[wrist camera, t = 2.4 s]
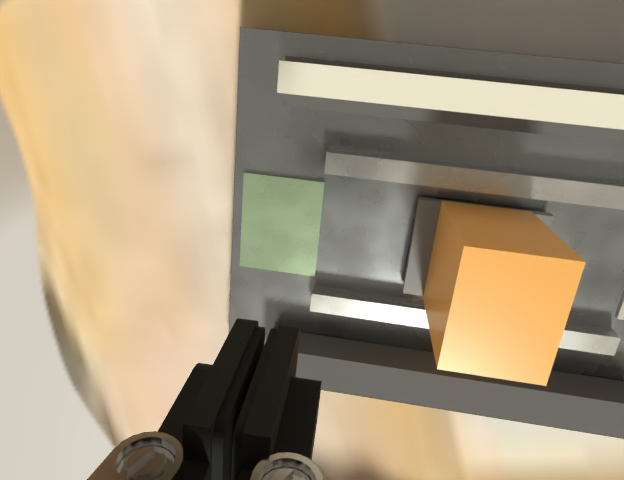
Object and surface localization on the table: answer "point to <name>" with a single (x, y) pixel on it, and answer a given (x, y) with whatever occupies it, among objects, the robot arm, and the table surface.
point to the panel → (408, 198)
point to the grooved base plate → (474, 113)
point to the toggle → (492, 287)
